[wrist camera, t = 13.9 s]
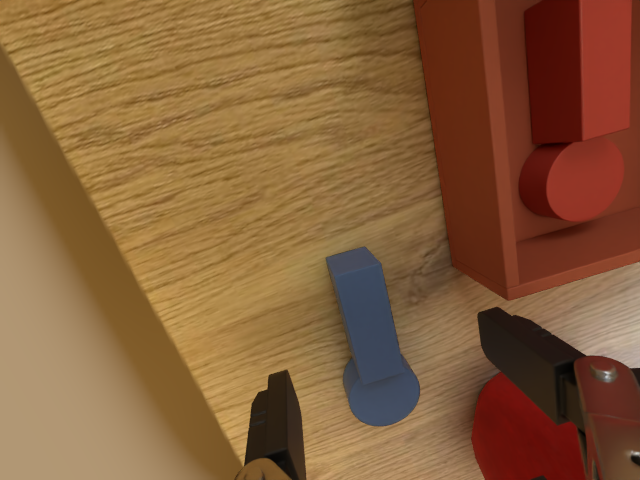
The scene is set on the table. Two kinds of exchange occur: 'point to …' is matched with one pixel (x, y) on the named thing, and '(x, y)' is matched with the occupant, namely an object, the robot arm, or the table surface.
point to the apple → (521, 437)
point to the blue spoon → (371, 342)
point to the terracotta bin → (511, 154)
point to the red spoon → (576, 105)
